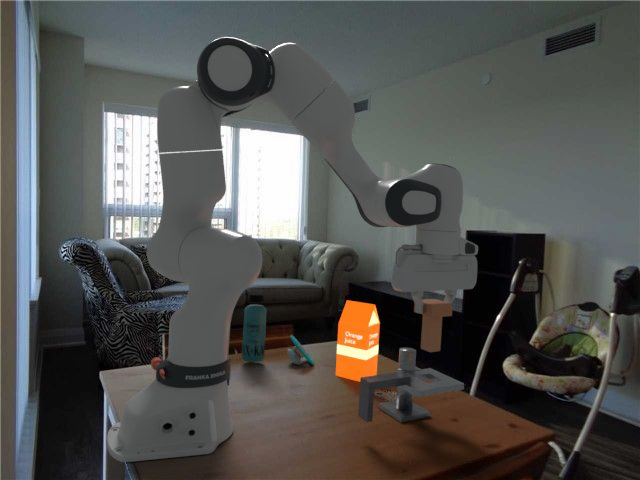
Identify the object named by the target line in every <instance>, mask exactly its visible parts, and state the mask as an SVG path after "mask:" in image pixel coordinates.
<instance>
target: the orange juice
mask: <svg viewBox="0 0 640 480" xmlns="http://www.w3.org/2000/svg"><path fill="white" fill-rule="evenodd" d="M377 310H378V309H377V307H376V304H373V303H367V302H361V301H353V300H346V302H345V304H344V307H343V310H342V313H341V316H340V318H339V321H338V325H337V326H338V327H337V343H336V359H335V360H336V364H335V365H336V366H335V376H336V377H340V378H344V379H347V380H352V381H355V382H358V383H360V378H361V377H367V376H374V375H378V374H377V373H378V360H379V359H378V358H379V346H380V345H379V341H380V340H379V339H380V325H381V322H380V319H379V315H378V311H377Z"/></svg>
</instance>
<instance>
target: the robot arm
mask: <svg viewBox="0 0 640 480" xmlns="http://www.w3.org/2000/svg"><path fill="white" fill-rule="evenodd" d="M196 76H197V78H196V80H195V81H194V82H193V83H192V84H189V85H188V86H187V85H186V86H185V85H183V86H176V87H172V88H170V89H168V90H166V91H165V92H164V93H163V94H162V95H161V96H160V98H159V99H158V100H159V101H158V103H157V104H158V105H157V117H156V119H157V120H156V121H157V122H156V124H157V125H156V135H157V147H158V149H157V150H158V156H159V165H160V166H159V167H160V173H161V175H160V176H161V184H162V209H161V216H160V220H159V224H158V228H157V230H156V231H155V233H154V234H153V235H152V236H151V238H150V240H149V241H148V244H147V248H146V257H147V261H148V264H149V266H150V268H152V270H153V271H154V272H156V273H158V274H160V275H161V276H163V277H164V278H167V279H169V280H171V281H173V282H178V283H179V282H180V283H185V284H188V290H187V295H186V298H185V300H184V303H183V305H182V306H181V307H179V308H178V309H177V310H176V311H175V312H174V313H172V315H171V316H170V319H169V327H168V328H169V329H168V354H167V357H166V358H165V359H163V360H162V359H161V358H160V357H157V356H156V357H153V358H152V359H151V361H150V366H151V367H152V368H151V369H153V370H154V371H155V379H154V380H153V381H152V382H151V383H149V384H148V385H146V386H145V387H143V389H141V390H140V391H138V392H137V393H136V394H135V395H133V396H132V397H130V398H129V399H128V401H127V402H126V404H125V406H124V408H123V412H122V416H121V421H119V422H116V423H114V424H113V425H112V426H111V427H110V428H109V430H108V432H107V434H106V449H107V451H108V453H109V455H110V456H111V457H112V458H113V459H115V460H116V461H118V462H121V463H132V462H141V461H150V460H153V461H154V460H159V459H160V460H162V459H168V458H169V459H170V458H171V459H173V458H181V457H191V456H201V455H209V454H211V453H213V452H214V451H215V450H216V449H217V447H218V446H219V445H220V444H222V443H223V442H224V441H226V440H228V439H229V438H230V437H231V436H232V434H233V433H234V429H235V428H234V423H233V419H232V416H231V415H232V413H231V410H230V409H231V407H230V401H229V399H230V398H229V386H230V381H231V371H232V369H231V368H232V367H231V366H232V365H231V357H230V356H229V351H230V350H229V348H230V333H231V322H232V317H233V314H234V310H235V307H236V305H237V303H238V301H239V298H240V297H241V295H242V294H243V293H244V291H245V290H246V289H248V288H249V287H250V286H251V285H253V284H254V283H255V282H256V280H257V279H258V277H259V275H260V273H261V272H262V271H261V270H262V268H263V252H262V249H261V247H260V244H259V243H258V242H257V240H256V239H255V238H254V237H251V235H248V234H244V233H243V232H239V231H237V230H235V229H229V228H219V227H218V228H217V227H216V228H215V227H212V225H213V224H212V222H213V221H212V220H213V214H214V210H215V207H216V204H217V203H219V202H221V200H223V198H224V196H225V194H226V192H227V185H226V184H227V182H226V173H225V172H226V171H225V162H224V161H225V160H224V153H223V146H222V145H223V143H222V142H223V141H222V135H221V134H222V133H221V132H222V129H221V126H222V122H223V118H225V117H228V116H230V115H234V114H236V113H239V112H242V111H244V110H245V109H247V108H249V107H250V106H251V105H253V104H254V103H255V102H256V101H258V100H265V101H267V102H270V103H271V104H273V105H274V106H275V107H276V108H278V109H279V110H280V111H281V112H282V113H283V115H285V117H286V118H287V119H288V121H289V122H290V123H291V124H292V125H293V127H295V129H297V131H298V132H299V133H301V135H302V136H303V137H304V138H305V139H306V141H308V142H309V143H310V144H311V145H312V146H313V147H314V148H315V149H316V151H317V152H318V153H319V155H321V156H322V158H323V159H324V160H325V162H326V163H327V164H328V165H329V167H330V168H331V169H332V170H333V172H334V173H335V175H337V177H338V178H339V179H340V180H341V181H342V183H343V184H344V185H345V187H346V188H347V189H348V191H349V192H350V193H351V195H352V197H353V200H354V201H355V204H356V207H357V210H358V212H359V215H360V217H361V218H362V219H363V220H364V222H365V223H367V224H368V225H370V226H371V227H375V228H388V227H390V228H391V227H392V228H410V227H413V226H416V229H415V243H414V244H406V243H405V244H402V245H401V246H400V247H399V248H398V249H397V250H396V251H395V255H394V256H395V258H394V264H393V269H392V274H391V283H390V284H391V285H390V286H392V289H393V290H395V291H396V292H401V293H410V296H411V298H412V301H413V303H415V312H414V313H416V314H419V313H426V306H427V305H425V304H423V302H422V300H423V299H422V297H423V298H424V292H435V291H439V292H440V291H444V294H445V296H444V299H443V301H444V302H448V303H452V304H453V302H454V300H455V298H456V297H457V296H458V295H457V294H458V291H459V290H460V291H461V290H473V288H474V287H475V286H476V285H477V282H478V281H477V279H478V259H477V257H476V255H478V252H479V246H478V244H475V243H474V242H472V241H469V240H468V239H465V238H464V237H461V233H462V232H461V230H462V229H461V225H460V217H461V214H462V212H463V204H464V203H463V199H464V198H463V197H464V186H463V179H462V174H461V172H460V170H458V169H457V168H455V167H453V166H451V165H448V164H443V163H434V162H433V163H428V164H427V163H426V164H425V165H424V166H423V167H421V168H420V169H418V170H416V171H415V172H412V173H409V174H407V175H405V176H402V177H401V176H400V177H398V178H392V179H390V180H386V179H383V178H381V177H380V176H377V175H376V174H375V172H373V170H372V169H371V168H370V166H369V165H368V163H367V162H366V161H365V160H364V159H363V157H362V155H361V154H360V152H359V151H358V150H357V148H356V147H355V145H354V142H353V136H352V134H353V129H354V126H355V125H354V124H355V120H356V119H355V118H356V111H355V107H354V105H353V103H352V102H351V99H350V98H349V96H348V94H347V93H346V92H345V90H344V89H343V87H342V86H341V84H339V83H338V82H337V81H338V80H336V79H335V78H334V77H333V76H332V74H331V73H330V72H329V71H328V70H327V69H326V68H325V66H323V65H322V63H320V62H319V61H318V60H317V59H316V58H315V57H314V56H313V55H311V54H310V53H309V52H308V51H307V50H306V49H304V48H303V47H302V46H301V45H299V44H297V43H294V42H285V43H282V44H279V45H277V46H276V47H273V48H272V49H271V50H270V51H269V50H268V49H266V48H264V47H261V46H259V45H255V44H253V43H251V42H248V41H246V40H243V39H240V38H236V37H231V36H224V37H223V36H222V37H219V38H217V39H214V40H212V41H210V42H209V43H208V44H206V46H205V47H204V48H203V49H202V51H201V53H200V55H199V56H198V60H197V63H196Z"/></svg>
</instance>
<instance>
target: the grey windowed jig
mask: <svg viewBox="0 0 640 480" xmlns="http://www.w3.org/2000/svg"><path fill="white" fill-rule="evenodd" d="M398 352H399V354H398V367H396V368H395V369H396V370H395V371H396V372H388V373H382V374H377V375H374V376H367V377H361V378H360V382H359V394H358V395H359V396H358V397H359V398H358V417H359V418H360V419H362V420H363V421H364V422H366V423H371V422H373V417H374V415H373V413H374V400H375V399H374V398H375V395H374V393H375V391H376V390H383V389H384V390H385V389H389V388H390V389H391V388H396V387H397V388H396V392H397V399H396V400H395V401H385V402H380V403H378V408H379V409H380V410H381V411H383V412H385V413H386V415H387V414H388V415H389V417H392V418H394V419H395V420H396V421H398V422H399V423H406V422H410V421H415V420H420V419H425V418H429V417H431V411H429V410H428V409H426V408H424V407H423V406H420V405H419V404H417V403H416V402H414V396H415V397H416V398H424V397H429V396H434V395H440V394H443V393H444V394H445V393H451V392H457V391H461V390H465V383H464V382H462V381H460V380H458V379H455V378H453V377H451V376H449V375H446V374H444V373H442V372H440V371H438V370H436V369H433V368H432V367H428V368H419V367H418V366H416V361H417V359H416V357H417V349H415V348H412V347H400V348H399V351H398ZM427 380H429V381H431V382H426V381H427Z"/></svg>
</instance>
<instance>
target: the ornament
mask: <svg viewBox="0 0 640 480" xmlns="http://www.w3.org/2000/svg"><path fill="white" fill-rule="evenodd" d="M289 337H290V339H291V342H292V343H293V344H294V346H295V347H294V349H291V348H287V356H288V357H289V359H290V360H291V361H292V363H294V364H295V365H297V366H301V365H302V360H301V358H305V359H306V361H307V362H308V363H309V364H310V365H313V366H315V362H314V359H313V358H312V356H311V355H310V353H308V351H307V350H306V348H305V347H304V345H302V344H301V342H300V341H299V340H298V339H297V338H296V337H295V336H293V335H292V334H291V335H290V336H289Z"/></svg>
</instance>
